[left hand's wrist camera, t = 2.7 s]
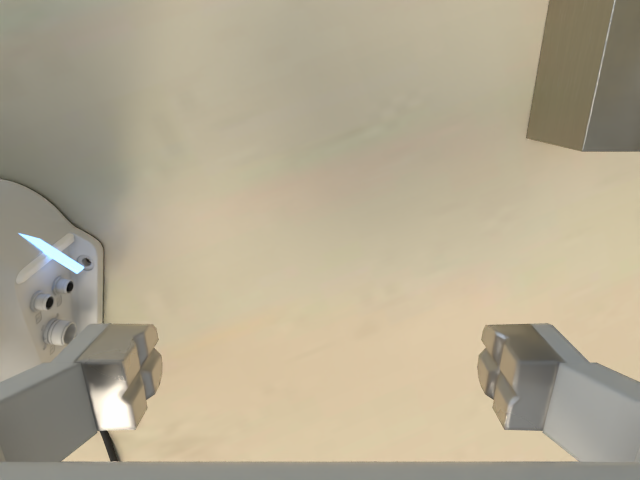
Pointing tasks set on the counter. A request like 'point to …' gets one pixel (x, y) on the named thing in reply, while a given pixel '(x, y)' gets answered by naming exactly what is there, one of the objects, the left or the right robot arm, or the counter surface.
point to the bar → (589, 77)
